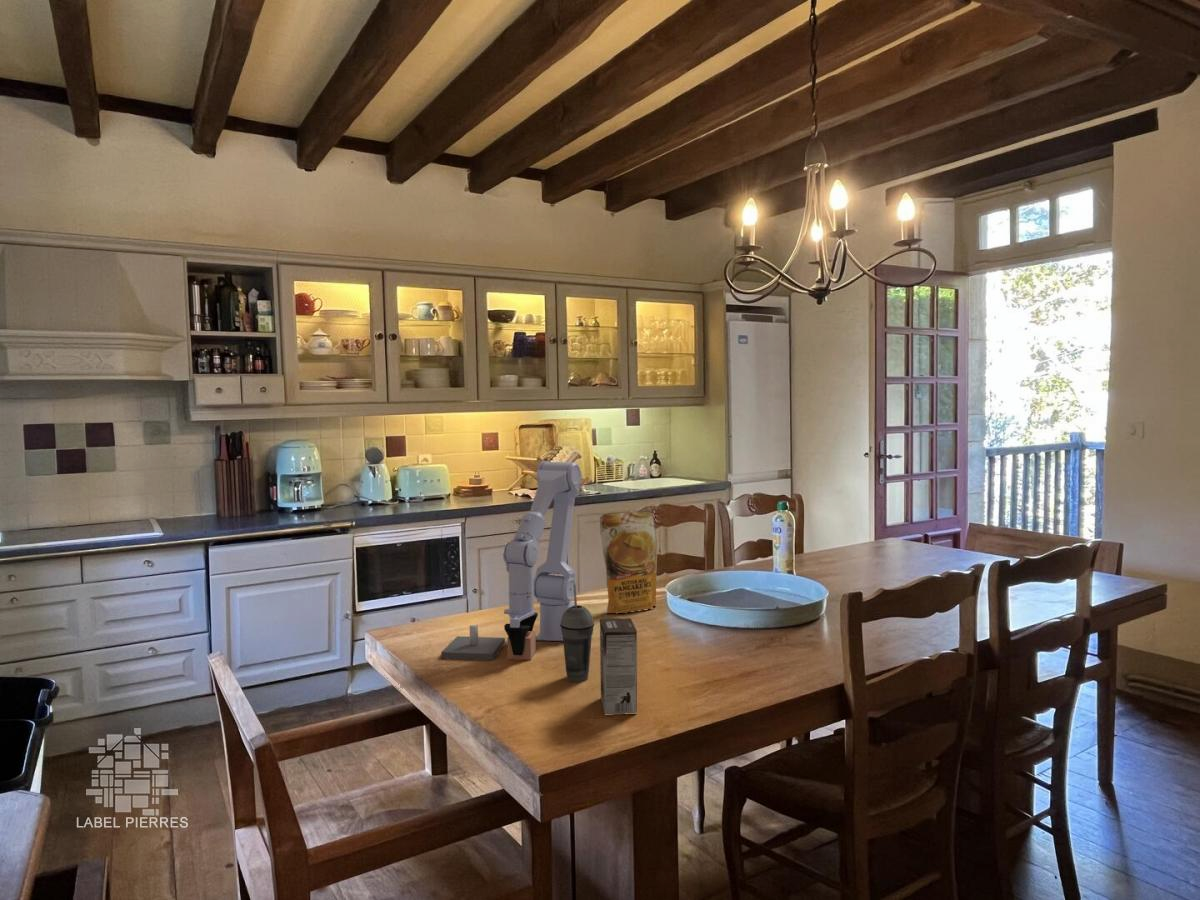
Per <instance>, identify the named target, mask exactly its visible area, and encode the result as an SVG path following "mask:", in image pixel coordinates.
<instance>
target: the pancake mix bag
mask: <svg viewBox="0 0 1200 900" xmlns="http://www.w3.org/2000/svg"><path fill="white" fill-rule="evenodd" d="M599 525H600V526H599V527H600V536H601V541H602V543H601V544H602V553H603V560H604V564H605V571H606V572H605V573H606V574H605V575H606V577H605V578H606V589H607V596H608V600H607V601H608V603H607V608H606V614H607V613H616V614H615V615H619V614H618V613H625V614H627V613H626V612H631V611H638V610H644V609H651V608H653V606H656V607H658V606H657V605H658V604H657V599H656V598H657V583H658V581H657V571H658V570H657V569H658V566H657V565H658V554H657V550H658V546H657V545H658V544H657V543H658V541H657V532H656V523H655V517H654V513H651V510H639V511H620V512H618V511H617V512H610V513H603V514H602V515H601V516H600V517H599ZM653 609H654V608H653Z"/></svg>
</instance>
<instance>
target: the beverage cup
mask: <svg viewBox="0 0 1200 900" xmlns="http://www.w3.org/2000/svg"><path fill="white" fill-rule="evenodd" d="M573 586H574V597H573V599H574V600H573V602H574V604H575V606H572V607H570V608H568V609H567V610H566V611H565V612H564V614H563V616H562V619H561V624H560V627H561V631H562V635H563V641H562V642H563V652H564V654H563V655H564V661H565V662H564V664H565V672H566V680H568V681H569V680H570V682H575V683H581V682H580V681H582V682H586V681H587V680H589V672H590V663H591V651H592V650H591V648H592V636H593V634H594V627H595V623H594V618H593V615H592V613H591V611H589V609H588V608H586V607H585V606H582V605H578V602H577V601H578V600H577V585H576V583H575V584H574V585H573Z"/></svg>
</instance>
